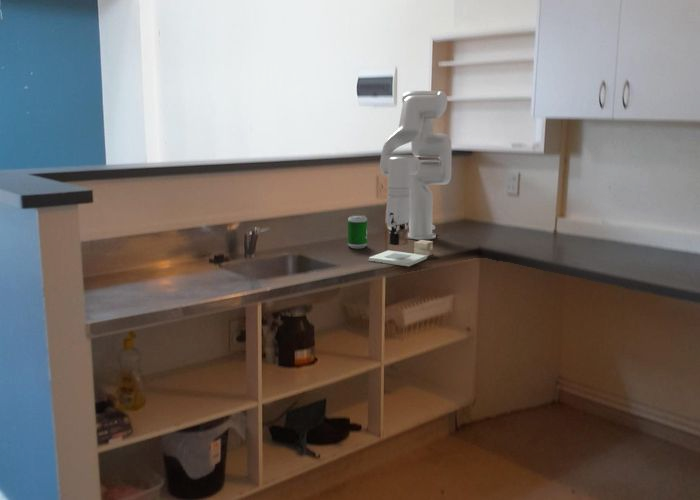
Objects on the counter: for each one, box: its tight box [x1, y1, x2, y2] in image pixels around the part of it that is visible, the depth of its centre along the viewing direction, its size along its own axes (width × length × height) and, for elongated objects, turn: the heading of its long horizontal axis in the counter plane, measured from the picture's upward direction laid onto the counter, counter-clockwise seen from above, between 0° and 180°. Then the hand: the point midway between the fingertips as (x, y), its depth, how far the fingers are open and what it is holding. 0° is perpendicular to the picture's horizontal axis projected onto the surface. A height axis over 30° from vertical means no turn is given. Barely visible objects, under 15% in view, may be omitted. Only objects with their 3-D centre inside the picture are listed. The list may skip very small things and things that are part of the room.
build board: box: [368, 250, 428, 267], centre depth 254 cm, size 14×16×1 cm
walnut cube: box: [388, 228, 409, 247], centre depth 252 cm, size 5×5×5 cm
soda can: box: [347, 214, 368, 249], centre depth 275 cm, size 8×8×12 cm
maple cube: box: [413, 240, 434, 258], centre depth 261 cm, size 5×5×5 cm
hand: (398, 242), depth 253 cm, fingers closed on walnut cube, 4 cm apart
